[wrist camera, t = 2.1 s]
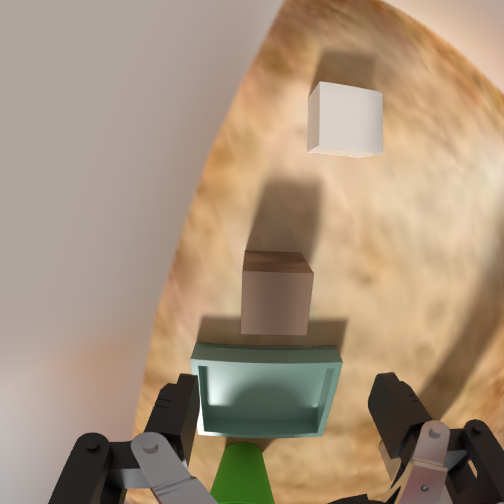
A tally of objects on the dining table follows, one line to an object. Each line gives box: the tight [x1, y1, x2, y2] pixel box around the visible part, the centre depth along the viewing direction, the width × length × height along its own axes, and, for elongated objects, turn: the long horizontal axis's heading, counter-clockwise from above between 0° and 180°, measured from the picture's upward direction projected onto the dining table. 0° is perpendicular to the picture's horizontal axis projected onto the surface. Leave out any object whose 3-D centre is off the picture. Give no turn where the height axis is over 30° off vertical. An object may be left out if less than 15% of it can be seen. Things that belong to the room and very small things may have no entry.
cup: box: [210, 442, 275, 504], centre depth 27 cm, size 9×9×11 cm
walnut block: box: [241, 251, 314, 335], centre depth 24 cm, size 5×5×6 cm
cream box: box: [307, 81, 383, 158], centre depth 21 cm, size 5×5×5 cm
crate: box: [190, 343, 343, 438], centre depth 28 cm, size 14×11×3 cm
